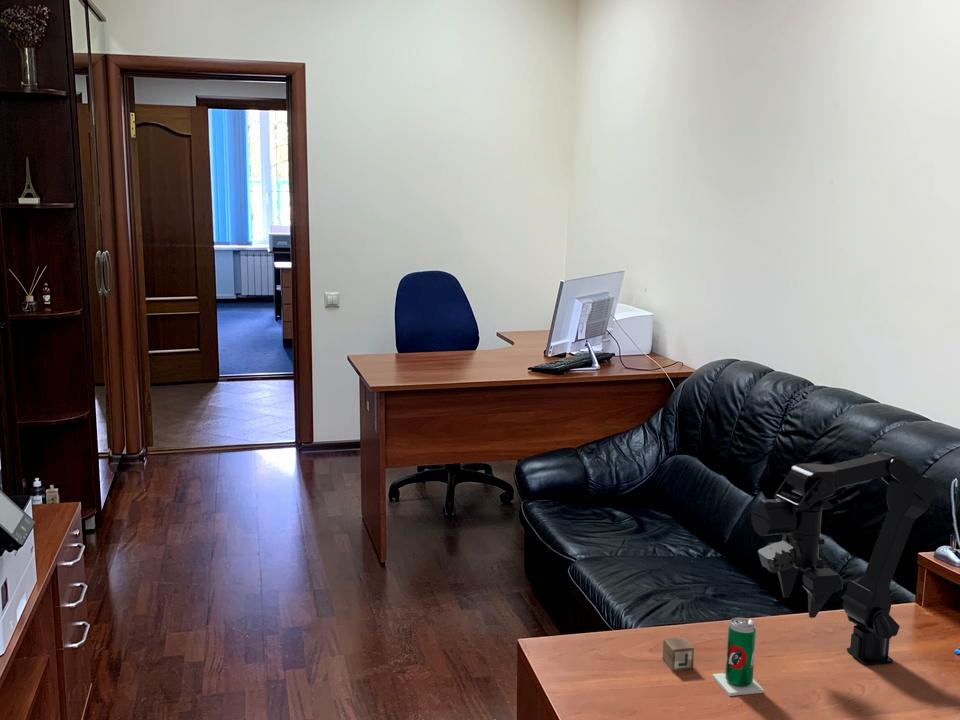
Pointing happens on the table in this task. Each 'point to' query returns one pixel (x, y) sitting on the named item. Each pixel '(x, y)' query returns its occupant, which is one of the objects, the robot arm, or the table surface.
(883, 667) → the table surface
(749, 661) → the soda can
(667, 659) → the letter cube
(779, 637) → the table surface
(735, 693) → the coaster
